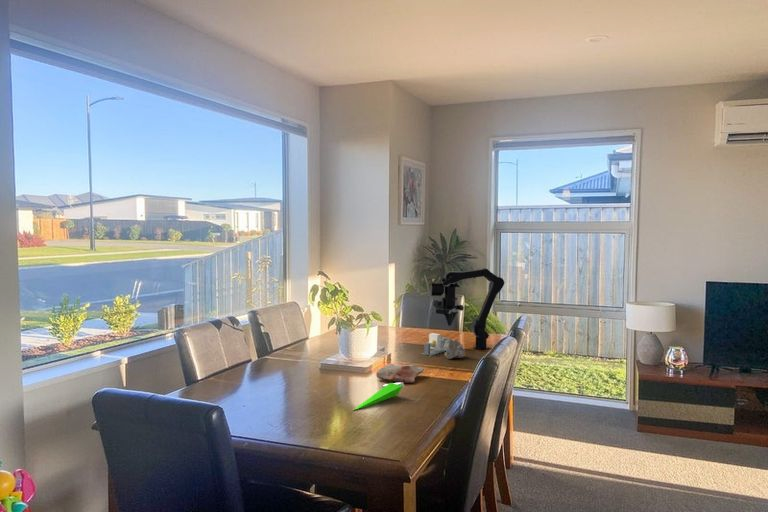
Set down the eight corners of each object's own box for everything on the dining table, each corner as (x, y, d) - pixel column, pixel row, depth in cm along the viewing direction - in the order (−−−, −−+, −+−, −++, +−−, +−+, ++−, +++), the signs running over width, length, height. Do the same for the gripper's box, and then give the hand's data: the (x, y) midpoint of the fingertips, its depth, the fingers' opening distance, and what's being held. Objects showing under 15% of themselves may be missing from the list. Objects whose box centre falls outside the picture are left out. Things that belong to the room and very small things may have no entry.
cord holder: (441, 347, 297) (441, 335, 297) (451, 349, 294) (451, 336, 293) (421, 354, 282) (421, 341, 282) (431, 356, 279) (431, 342, 278)
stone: (422, 391, 230) (422, 378, 244) (424, 377, 229) (425, 364, 243) (373, 383, 231) (377, 370, 246) (376, 368, 230) (379, 357, 245)
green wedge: (364, 421, 193) (407, 393, 212) (359, 406, 193) (403, 379, 212) (342, 423, 201) (386, 396, 219) (337, 408, 201) (382, 383, 220)
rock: (465, 364, 275) (465, 346, 281) (461, 353, 266) (461, 334, 272) (447, 365, 277) (447, 347, 283) (442, 354, 268) (442, 335, 274)
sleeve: (432, 347, 289) (432, 333, 289) (440, 348, 286) (440, 334, 286) (428, 348, 287) (429, 333, 286) (437, 349, 284) (437, 335, 283)
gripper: (446, 292, 305) (445, 321, 305) (426, 296, 290) (426, 326, 291) (464, 294, 298) (463, 323, 299) (445, 298, 283) (445, 329, 284)
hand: (449, 325), depth 293 cm, fingers closed
